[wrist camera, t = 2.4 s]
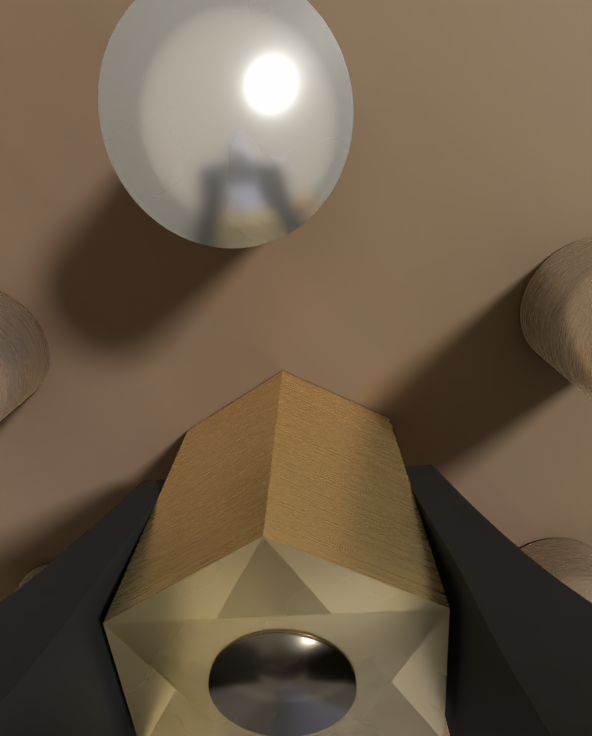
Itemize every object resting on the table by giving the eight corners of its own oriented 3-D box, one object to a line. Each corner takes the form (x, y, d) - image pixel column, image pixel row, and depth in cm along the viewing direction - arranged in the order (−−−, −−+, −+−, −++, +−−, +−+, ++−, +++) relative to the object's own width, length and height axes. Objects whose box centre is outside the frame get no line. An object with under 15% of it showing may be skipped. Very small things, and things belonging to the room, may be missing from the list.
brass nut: (391, 557, 12) (442, 799, 8) (211, 566, 13) (155, 806, 8) (388, 364, 10) (454, 528, 6) (177, 377, 11) (77, 548, 6)
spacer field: (577, 708, 14) (672, 900, 11) (67, 725, 15) (-12, 910, 11) (713, 3, 8) (1060, -127, 4) (-174, 91, 9) (-526, 41, 5)
